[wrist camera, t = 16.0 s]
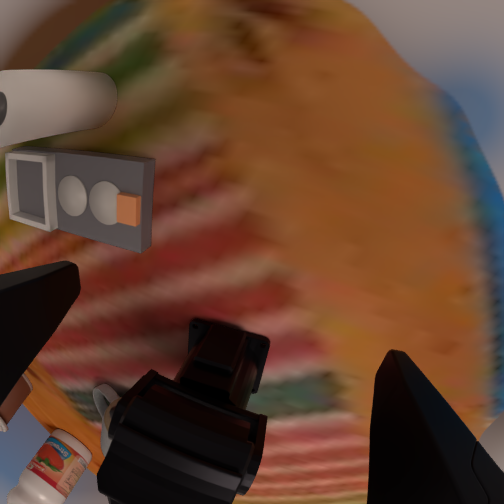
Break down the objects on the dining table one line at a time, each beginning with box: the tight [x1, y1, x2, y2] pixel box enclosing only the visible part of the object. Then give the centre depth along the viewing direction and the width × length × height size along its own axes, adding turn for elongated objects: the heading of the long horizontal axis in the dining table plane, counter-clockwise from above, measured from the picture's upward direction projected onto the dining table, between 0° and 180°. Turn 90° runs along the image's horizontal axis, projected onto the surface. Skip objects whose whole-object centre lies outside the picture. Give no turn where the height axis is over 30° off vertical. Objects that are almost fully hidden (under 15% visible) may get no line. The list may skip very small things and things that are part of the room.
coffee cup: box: [0, 373, 33, 432], centre depth 36 cm, size 9×9×12 cm
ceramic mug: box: [93, 384, 122, 457], centre depth 30 cm, size 11×8×8 cm
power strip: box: [5, 146, 155, 253], centre depth 22 cm, size 15×6×2 cm, turn 81°
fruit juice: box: [7, 429, 92, 504], centre depth 34 cm, size 9×9×28 cm
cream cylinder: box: [0, 70, 117, 148], centre depth 15 cm, size 4×4×9 cm
